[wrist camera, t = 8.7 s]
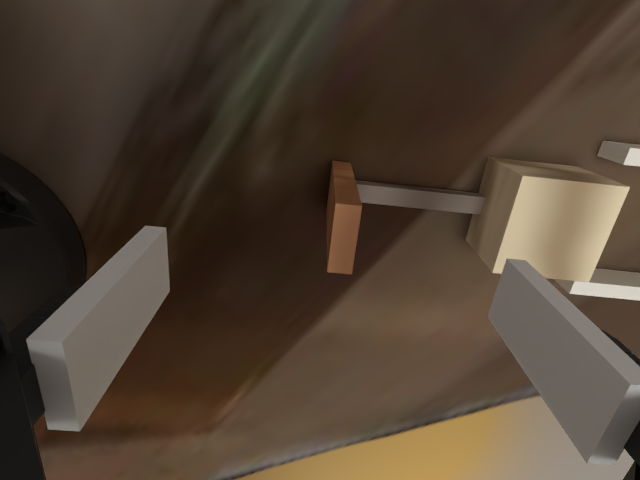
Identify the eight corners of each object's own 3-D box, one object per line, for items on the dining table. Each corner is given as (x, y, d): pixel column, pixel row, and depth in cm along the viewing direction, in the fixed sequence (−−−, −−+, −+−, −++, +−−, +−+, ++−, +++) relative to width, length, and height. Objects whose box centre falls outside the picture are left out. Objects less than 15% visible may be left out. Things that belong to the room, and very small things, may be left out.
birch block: (324, 225, 28) (324, 294, 20) (334, 140, 26) (339, 176, 17) (546, 247, 29) (640, 324, 20) (576, 166, 26) (697, 213, 18)
